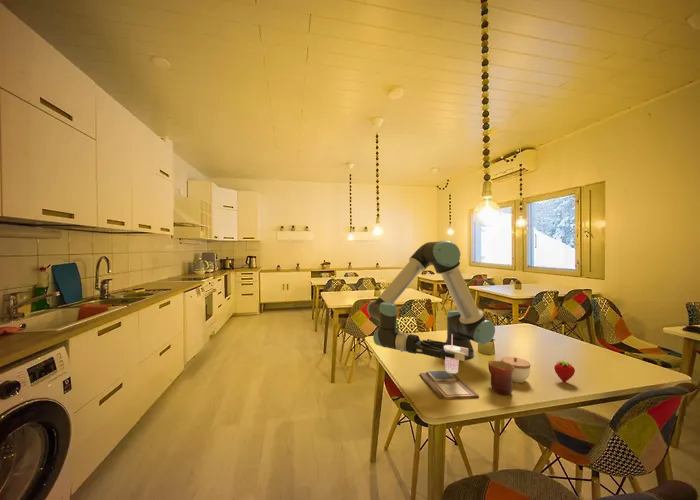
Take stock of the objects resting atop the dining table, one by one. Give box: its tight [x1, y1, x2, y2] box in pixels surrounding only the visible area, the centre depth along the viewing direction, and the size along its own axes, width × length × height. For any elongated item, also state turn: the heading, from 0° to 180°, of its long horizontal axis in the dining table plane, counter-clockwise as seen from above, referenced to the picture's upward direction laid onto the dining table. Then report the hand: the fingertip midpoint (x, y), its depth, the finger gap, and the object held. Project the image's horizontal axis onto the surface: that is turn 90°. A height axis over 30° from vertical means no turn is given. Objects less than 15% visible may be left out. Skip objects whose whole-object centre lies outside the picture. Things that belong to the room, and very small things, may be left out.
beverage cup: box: [444, 334, 460, 374], centre depth 107 cm, size 6×6×14 cm
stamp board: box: [419, 369, 480, 400], centre depth 111 cm, size 15×21×2 cm
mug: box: [488, 360, 515, 396], centre depth 108 cm, size 12×9×10 cm
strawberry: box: [553, 358, 576, 383], centre depth 116 cm, size 6×8×10 cm
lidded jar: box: [500, 356, 531, 384], centre depth 118 cm, size 11×11×9 cm
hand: (466, 354), depth 104 cm, fingers closed on beverage cup, 6 cm apart
